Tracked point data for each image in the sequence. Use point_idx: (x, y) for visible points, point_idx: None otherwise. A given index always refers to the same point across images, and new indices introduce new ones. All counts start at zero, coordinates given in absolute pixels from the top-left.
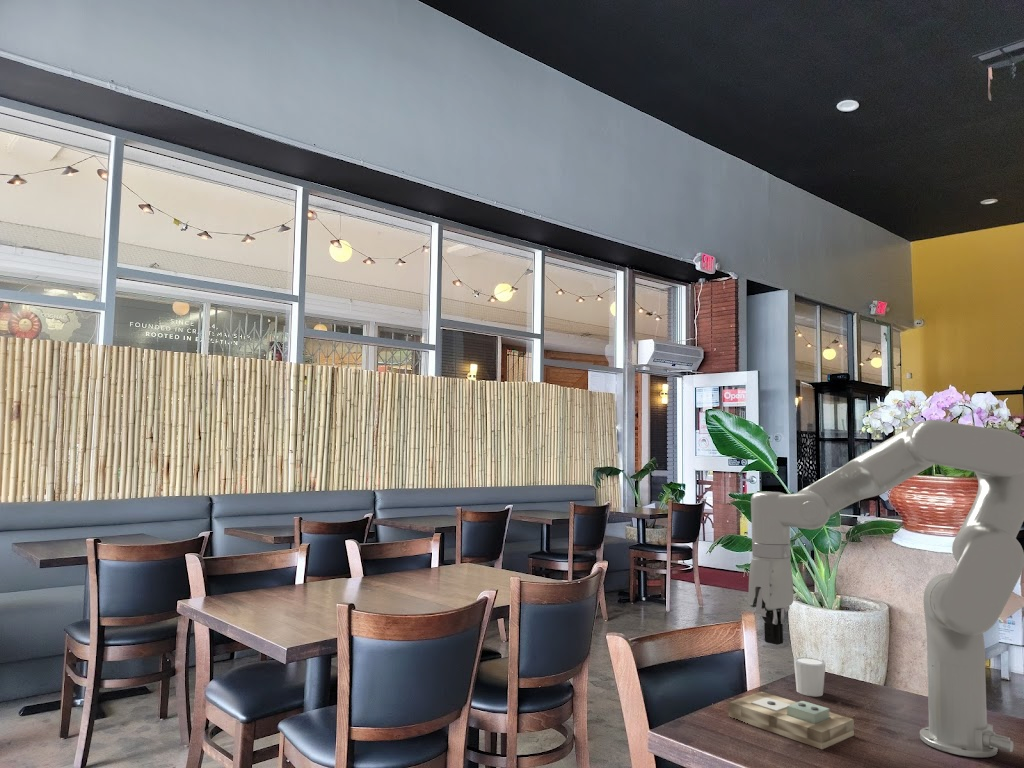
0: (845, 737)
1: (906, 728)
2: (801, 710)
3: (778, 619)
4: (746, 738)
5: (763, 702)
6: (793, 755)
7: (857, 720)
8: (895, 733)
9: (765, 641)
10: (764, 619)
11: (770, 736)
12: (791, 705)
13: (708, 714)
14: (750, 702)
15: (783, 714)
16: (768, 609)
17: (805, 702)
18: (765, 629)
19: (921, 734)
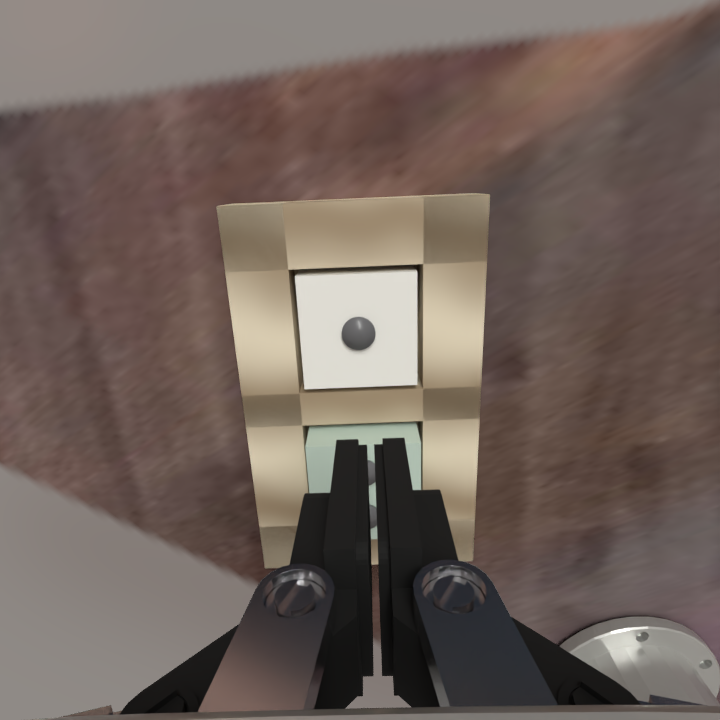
0: None
1: (656, 572)
2: None
3: (417, 703)
4: (128, 373)
5: (341, 306)
6: (159, 515)
7: (613, 470)
8: (583, 574)
9: (338, 441)
10: (219, 651)
11: (219, 403)
12: (324, 453)
13: (179, 130)
14: (302, 266)
15: (299, 421)
16: None
17: (409, 460)
18: (332, 505)
19: (586, 643)
